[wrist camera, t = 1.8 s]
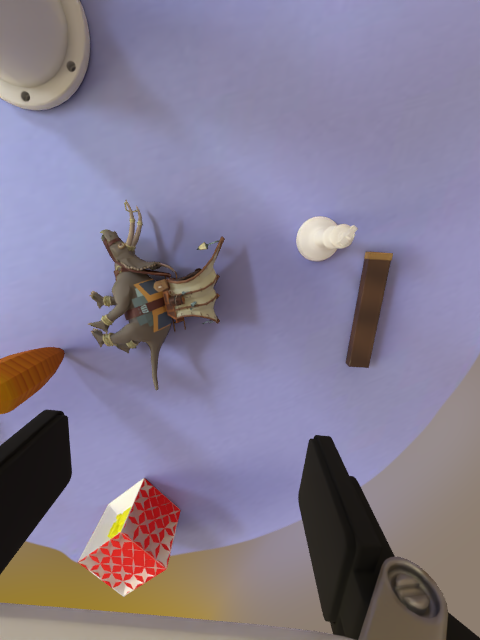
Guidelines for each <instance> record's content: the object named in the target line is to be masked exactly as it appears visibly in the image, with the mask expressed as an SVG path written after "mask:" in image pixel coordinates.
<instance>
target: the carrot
mask: <svg viewBox="0 0 480 640" xmlns="http://www.w3.org/2000/svg"><path fill="white" fill-rule="evenodd" d="M64 354H65V353H64V350H62V349H60V348H55V347H45V348H39V349H34V350H29V351H25V352H20V353H17V354H13V355H9V356H7V357H4V358H2V359H0V414H5V413H8V412H10V411H12V410H14V409H15V408H16V407H18V406H19V405H20V404H22V403H23V402H24V401H26V400H27V399H28V398H30V397H31V396H32V395H33V394H35V393H36V392H37V391H38V390H40V389H41V388H42V387H43V386H44V385H45V384H46V383H47V382H48V380H49V379H50V378H51V377H52V376H53V375H54V374H55V372H56V371H57V369H58V367H59V365H60V364H61V362H62V360H63V358H64Z"/></svg>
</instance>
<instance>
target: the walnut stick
mask: <svg viewBox="0 0 480 640" xmlns="http://www.w3.org/2000/svg"><path fill="white" fill-rule="evenodd" d="M392 256H393V253H380V252H365V259H364V265H363V270H362V276H361V281H360V287H359V292H358V298H357V303H356V309H355V314H354V320H353V325H352V331H351V336H350V342H349V347H348V353H347V358H346V364H347V365H348V366H349V367H365V368H369V364H370V359H371V354H372V349H373V344H374V339H375V334H376V330H377V325H378V320H379V315H380V310H381V305H382V301H383V296H384V291H385V286H386V281H387V276H388V272H389V267H390V262H391V260H392Z"/></svg>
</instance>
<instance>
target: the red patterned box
mask: <svg viewBox="0 0 480 640" xmlns="http://www.w3.org/2000/svg"><path fill="white" fill-rule="evenodd" d="M180 511H181V510H180V509H179V508H178V507H177V506H176V505H174V504H173V503H172V502H171V501H170V500H169V499H168V498H166V497H165V496H164V495H163V494H162V493H161V492H160V491H159V490H157V489H156V488H155V487H154V486H153V485H152V484H151V483H150V482H148V481H147V480H146V479H145V478H143V479H142V480H141V481H139V482H138V483H137V484H135V485H134V486H132V487H131V488H130V489H128V490H127V491H126V492H124V493H123V494H122V495H120V496H119V497H118V498H116V499H115V500H114V501H112V502H111V503H109V504H108V506H107V508H106V509H105V511H104V513H103V515H102V517H101V519H100V521H99V523H98V525H97V527H96V528H95V530H94V532H93V534H92V536H91V538H90V540H89V542H88V544H87V546H86V548H85V549H84V551H83V553H82V555H81V557H80V559H79V561H78V563H79V564H81V565H82V566H83V567H85V568H86V569H87V570H89V571H90V572H91V573H93V574H94V575H95V576H97V577H98V578H99V579H101V580H102V581H103V582H105V583H106V584H107V585H109V586H110V587H111V588H113V589H114V590H115V591H117V592H118V593H119V594H121V595H122V596H125V595H127V594H128V593H130V592H131V591H133V590H134V589H136V588H137V587H139V586H141V585H142V584H144V583H145V582H147V581H149V580H150V579H152V578H153V577H155V576H156V575H158V574H160V573H161V572H163V571H164V570H166V569H167V565H168V561H169V557H170V553H171V548H172V544H173V540H174V536H175V532H176V527H177V523H178V519H179V515H180Z"/></svg>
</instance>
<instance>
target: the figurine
mask: <svg viewBox="0 0 480 640" xmlns="http://www.w3.org/2000/svg"><path fill="white" fill-rule="evenodd" d="M125 203H126V204H127V206H128V209H129V211H128V210H127V209H126V204H125ZM125 203H124V204H125V209H126V211H128V212H129V213H130V220H129V221H130V229H129V235H128V238H127V241H126V243H124V242H122V240H121V239H120V238H119V237H118V235H117V233H116V232H115V231H114V232H112V231H110V230H102V231H101V232H100V233H102V234H103V235H102V238H101V239H102V241H103V243H104V245H105V247H106V249H107V251H108V253H109V255H110V256H111V258H112V259H113V261H114V262H115V271H114V274H115V277H116V282H115V283H114V286H113V288H112V293H113V297H111V296H110V297H109V296H104V297H102V296H101V295H99V294H98V293H97V292H95V291H92V292H91V294H92V295H90V296H91V297H92V299H93V300H95V301H96V302H97V305H98V307H99V308H101V306H103V305H105V306H108V307H109V306H110V305H111V306H112V305H116V306H115V308H114V309H113V310H112V311H110V312H109V313H108V314H107V315H105V316H102V318H101V321H99V322H94V323H89V324H88V325H91V326H93V327H96V328H99V329H102V330H103V331H105V332H106V334H102V332H101V331H100V330H98V329H94V328H93V330H94V331H91V332H92V334H93V336H94V337H95V338H96V340H97V341H98V343H99V345H100V347H102V344H104V343H105V344H106V345H107V346H111V345H112V346H113V345H114V346H116V347H117V348H119V349H121V350H123V351H125V352H127V353H129V350H130V348H132V349H133V348H136V346H137V345H138V343H140V342H146V343H147V344H148V345H149V347H150V351H151V365H152V377H153V381H154V385H155V389H156V390H158V381H157V366H158V356H159V351H160V348H161V346H162V344H163V342H164V340H165V338H166V336H167V334H168V332H169V329H170V326H171V323H172V320H173V318H174V319H176V322H174V320H173V326H174V332H176V331H175V325H174V323H178V322H181V321H184V317H190V316H195V317H203V318H207V319H210V320H209V321H212V320H213V321H212V322H214V321H215V322H216V323H217V324H218V323H219V322H220V320H219V319H218V317H216V315H215V312H214V308H213V307H214V304H215V301H216V299H217V298H218V297H219V296H220V295H218V293H217V294H216V292H215V290H214V288H213V287H214V286H215V284H216V282H217V280H218V279H219V277H220V276H219V275H218V274H217V275H216V273H215V271H214V268H213V265H214V262H215V260H216V258H217V256H218V253H219V251H220V249H221V246H222V244H223V242H224V240H225V239H224V237H223V236H222V237H221V239H220V241H215V242H212V243H210V244H206V243H205V242H204V243H203V244H201V245H200V246H199V247H198V249H197V250H204V249H208V245H211V244H213V243H216V242H219V243H218V245H217V247H216V249H215V252H214V254H213V256H212V258H211V259H210V260H209V261H208V263H207V264H206V265H205V266H204V267H203V269H200V268H198V269H196V270H195V272H193V273H190V274H189V275H187V276H184V277H181V278H178V279H177V274H176V271H174V270H173V268H171V267H170V266H168V265H165V264H161V263H160V262H146V261H144V260H142V259H140V258H139V257H137V256H136V255H135V248H136V247H135V246H136V244H137V242H138V240H139V236H140V233H141V228H142V225H143V224H142V223H143V222H142V216H141V213H140V211H139V209H138V207H137V206H136V208H137V210H135V211H132V209H131V207H130V206H129V204H128V202H127V200H126V202H125ZM133 212H138V216H139V219H138V222H137V223H138V224H137V225H138V227H137V230H136V233H135V235H134V230H135V219H134V216H133ZM161 266H164V267H167V268H169V269H170V270H171V271H172V270H173V271H174V272H175V274H176V279H175V278H170V277H171V274H170V273H164V272H158V271H152V270H156V269H158V268H160V267H161ZM146 268H147V269H148V268H149V269H151V270H146ZM173 271H172V272H173ZM147 274H151V275H158V276H165V279H163V280H160V281H155V280H154V279H152V278H151V277H149V276H148V275H147ZM166 277H168V278H169V280H168V279H166ZM123 314H124V315H125V318H126V320H129V324H127V325H126V326H124V327H123V328H122V329H121V330H120V331H118V332H117V333H115V334H114V333H109V334H107V332H108V331H107V330H108V328H109V326H110V325H112V323H113V322H114V320H116V319H117V318H118V317H120V316H121V315H123ZM207 322H208V321H207ZM207 322H205V323H207ZM210 323H211V322H210ZM203 324H204V323H203ZM184 327H185V330H186V326H185V321H184Z"/></svg>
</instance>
